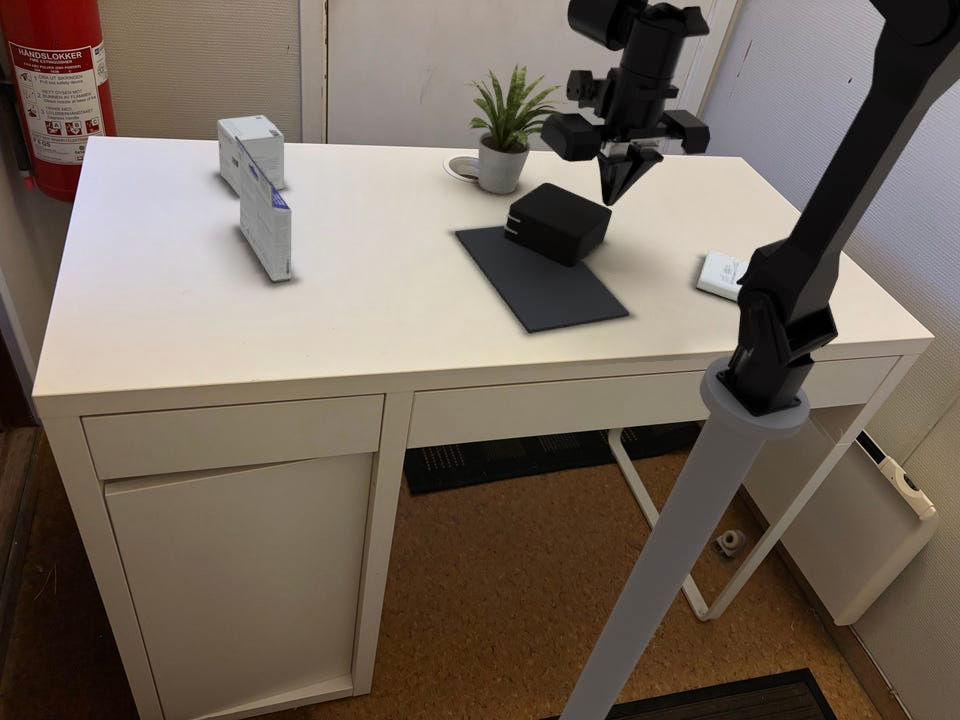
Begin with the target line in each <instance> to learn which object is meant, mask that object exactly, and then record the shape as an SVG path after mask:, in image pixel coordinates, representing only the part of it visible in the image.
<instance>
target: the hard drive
mask: <svg viewBox="0 0 960 720" xmlns="http://www.w3.org/2000/svg"><path fill="white" fill-rule="evenodd" d="M748 265H749V262H748V261H746V260H745V261H744V260H741V259H738V258H735V257H732V256H729V255H726V254H724V253H723V254H722V253H720V252H718V251H713V250H710V249H708V252H707V254H706V256H705V259H704V262H703V265H702V268H701V270H700V275H699V277H698V280H697V283H696V288H698V289H699V290H700V289H701V290H703V291H706V292H707V293H711V294H715V295H717V296H721V297H724V298H726V299H728V300H731V301H735V302H737V296H738V293H739V290H740V288H741V287H742V285H737V284H736V281H738V280H739V279H740V278H741V277H742V276H743V275H744V274H745V272H746V271H747V268H748Z"/></svg>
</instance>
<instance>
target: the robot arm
mask: <svg viewBox="0 0 960 720" xmlns="http://www.w3.org/2000/svg"><path fill="white" fill-rule="evenodd" d="M868 1H869V2H870V3H871V5H872V6H873V7H874V8H875V10H876V11H877V12H878V13H879V15H880V16H881V17H883V19H884V22H883V25H882V28H881V31H880V34H879V37H878V40H877V42H876V46H875V48H874V53H873V64H872V75H871V83H870V84H871V85H870V87H869V91H868V93H867V95H866V97H865V98H864V100H863V102H862V104H861V106H860V107H859V109H858V111H857V112H856V114H855V116H854V118H853V120H852V121H851V123H850V125H849V127H848V129H847V131H846V132H845V134H844V136H843V138H842V140H841V141H840V143H839V145H838V147H837V149H836V150H835V152H834V154H833V156H832V158H831V160H830V162H829V163H828V165H827V167H826V169H825V171H824V172H823V174H822V176H821V178H820V179H819V181H818V183H817V185H816V187H815V188H814V190H813V192H812V194H811V196H810V197H809V200H808V201H807V202H806V205H805V206H804V208H803V211H802V212H801V214H800V215H799V217H798V219H797V221H796V222H795V225H794V226H793V228H792V230H791V232H790V233H789V235H788V236H787V237H784V238H781V239H778V240H776V241H773V242H771V243H768V244H765V245H762V246H759V247H756V248H755V250H754V252H753V253H752V255H751V256H750V260H749V262H748V263H749V265H748V268H747V271H746V272H745V274H744V275H743V276H742V277H741V278H740V279H739V280H738V281H736V284H737V285H742V287H741V288H740V290H739V293H738V296H737V301H736V306H737V307H738V308H739V322H738V336H737V345H736V347H735V349H734V351H733V353H732V355H731V356H732V357H731V359H730V361H729V363H728V367H729V369H727V370H722V371H718V372H717V374H716V378H717V379H718V380H719V381H720V382H721V383H722V384H723V385H724V387H725V388H726V389H727V390H728V391H729V392H730V393H731V394H732V395H733V396H734V397H735V398H736V399H737V400H738V401H739V402H740V403H741V404H742V406H743V407H744V408H745V409H746V410H747V411H748V412H749V413H750V414H751V415H752V416H754V417H760V416H764V415H768V414H771V413H775V412H779V411H783V410H787V409H790V408H794V407H798V406H800V404H801V402H802V401H801V400H800V399H799V398H798V397H797V396H796V394H797V393H798V391H799V389H800V387H801V388H802V385H803V384H804V382H805V381H806V379H807V377H808V376H809V373H810V372H811V370H812V369H813V367H814V365H815V364H816V361H815V360H814V359H813V358H812V357H811V353H812V352H814V351H817V350H819V349H820V348H824V347H826V346H827V345H829V344H830V343H831V342H832V341H834V340H835V339H836V338H838V336H839V330H838V328H837V325H836V321H835V318H834V315H833V312H832V309H831V305H830V299H831V297H832V294H833V292H834V289H835V287H836V284H837V282H838V280H839V275H840V260H841V257H840V256H841V253H842V251H843V249H844V247H845V245H846V244H847V242H848V241H849V239H850V237H851V236H852V234H853V233H854V231H855V229H856V228H857V226H858V225H859V223H860V221H861V220H862V218H863V216H864V215H865V214H866V212H867V210H868V208H869V206H871V203H872V202H873V200H874V198H875V197H876V196H877V194H878V192H879V191H880V189H881V187H882V186H883V185H884V183H885V181H886V179H887V177H888V176H889V174H890V173H891V172H892V170H893V168H894V166H895V165H896V163H897V161H898V160H899V159H900V157H901V155H902V153H903V152H904V151H905V148H906V147H907V146H908V144H909V142H910V141H911V139H912V137H913V136H914V134H915V133H916V131H917V130H918V128H919V126H920V125H921V123H922V121H923V120H924V118H925V117H926V115H927V113H928V112H929V110H930V109H931V107H932V106H933V105H934V103H936V102H937V101H938V100H939V98H941V97H942V96H943V95H944V94H945V93H946V92H947V91H948V90H950V89H951V87H953V86H954V85H955V84H956V83H957V82H958V81H959V80H960V0H868ZM566 14H567V24H568V26H569V27H570V29H571V30H572V31H573V32H574V33H576V34H578V35H580V36H582V37H584V38H585V39H587V40H590V41H591V42H594V43H595V44H597V45H599V46H600V47H603V48H605V49H607V50H608V51H611V52H619V51H621V50H623V51H622V54H621V58H620V61H619V65H618V67H616V66H615V67H612V66H611V67H610V68H609V70H608V71H607V74H606V77H605V78H604V77H602V78H601V77H599V78H597V77H596V78H595V77H594V76H593V75H594V74H593V71H592V70H591V69H570V72H569V75H568V79H567V82H566V91H565V96H566V99H567V100H568V101H571V102H577V108H578V109H586V108H588V109H593V113H592V114H593V115H594V116H595V117H596V118H597V119H603V120H604V121H603V124H592V123H591V122H590V121H589V120H587V119H586V118H585V117H584V116H583V115H582V114H581V113H579V112H573V113H571V112H570V113H568V112H567V113H564V114H549V115H548V116H547V117H546V118H545V119H544V120H543V121H544V122H543V124H542V126H541V127H542V131H541V133H540V136H539V138H540V139H541V140H542V141H543V142H544V143H545V144H546V145H547V146H548V147H549V148H550V149H551V150H552V151H553V152H554V153H555V154H556V155H557V156H558V157H560V158H561V160H563V161H565V162H568V163H576V162H591V161H593V160H594V159H595V158H596V159H597V163H598V168H599V179H600V190H601V191H600V192H601V201H602V203H603V205H604V206H605V207H612V206H614V205H615V204H616V203H617V202H618V201H619V200H620V199H621V198H622V197H623V196H624V195H625V194H626V193H627V192H628V191H629V190H630V189H631V188H632V187H633V185H635V184H636V183H637V182H638V181H639V180H640V179H641V178H642V177H643V176H644V175H645V174H647V173H648V171H650V170H651V169H652V168H653V167H654V166H656V164H659V163H660V164H661V163H662V162H663V161H664V159H665V156H664V155H663V154H661V153H660V152H659V151H658V150H659V148H660V145H659V144H660V142H661V141H662V142H663V141H678V140H681V144H680V148H681V149H682V151H683V153H684V154H686V155H699V154H701V155H702V154H706V152H707V149H708V147H709V144H710V141H711V139H712V136H711V131H710V126H709V125H707V124H706V123H705V122H703V121H702V120H701V119H699V118H698V117H697V116H695V115H694V114H693V113H691V112H690V111H688V110H687V109H665V108H666V104H667V102H668V100H671V99H672V100H673V99H677V98H678V95H679V91H680V88H679V87H678V86H677V85H675V84H673V83H674V80H675V77H676V74H677V70H678V69H679V68H678V67H679V65H680V61H681V58H682V56H683V52H684V49H685V46H686V42H687V40H688V39H689V38H697V37H706V36H708V35H710V33H711V29H710V27H709V24H708V22H707V20H706V19H705V18H704V16H703V13H702V8H701V6H700V5H694V6H693V5H691V6H684V7H683V8H680V7H678V6H676V5H673V4H672V3H669V2H666V1H665V2H664V1H661V2H658V3H656V4H653V5H652V4H650V3H649V0H569V2H568V6H567V12H566Z"/></svg>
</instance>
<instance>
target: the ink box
mask: <svg viewBox="0 0 960 720" xmlns="http://www.w3.org/2000/svg"><path fill="white" fill-rule="evenodd" d="M235 139H236V144H237V151H238V158H239V166H240V196H239V229H240V231H241V232H242V234H243V235H244V237H245V239H246V240H247V242H248V244H249V246H250V247H251V248H252V250H253V252H254V253H255V255H256V256H257V258H258V260H259V261H260V263H261V265H262V267H263V268H264V269H265V271H266V273H267V274H268V276H269V278H270V279H271V281H272V282H281V281H282V282H283V281H287V280H291V279H292V209H291V207H289V205H288V204H287V202H286V201H285V200H284V198H283V197H282V196H281V194H280V193H279V191H278V190H276V189H275V187H274V183H272V182H271V181H270V180H269V179H268V177H267V176H266V175H265V173H264V172H263V171H262V169H261V168H260V166H259V165H258V163H257V162H256V161H254V159H253V158H252V156H251V155H250V153H249V152H248V151H247V149H246V148H245V146H244V145H243V144H242V142H241V141H240V140H239V138H238V137H237V136H235Z"/></svg>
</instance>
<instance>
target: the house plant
mask: <svg viewBox="0 0 960 720" xmlns="http://www.w3.org/2000/svg"><path fill="white" fill-rule="evenodd" d="M518 64H519V63H516V65H515V67H514V70H513V72H512V75H511V79H510V84H509V89H508V94H507V97H506V105H505V104H504V97H503V90H502V88H501V85H500V82H499V80H498V78H497V77H496V76H495V74H494V73H493V72H492V70H490V69H488V72H489V75H488V74H485V76H486V77H488V78H490V79H491V82H492V87H493V91H494V94H495V101H496V105H495V101H494V98H493V96H492V94H491V92H490V90H489V89H488V87H487V85H486V83H485V82H484V80H482V79H480V78H479V77H477V79H478V80H479V82H481V83H482V84H483V86H484V88H485V89H486V90H484V89H483V88H482V87H481V85H479V83H477V82H475V80H473V79H471V81H472V82H473V84H470V83H466V84H465V83H464V84H463V83H461V86H462V85H463V86H471V87H476V88H477V89H478V91H479V92H480V94H481V95H482V96H483V98H479V97H478V98H477V97H476V98H473V103H475V104H476V105H477V106H478V107H479V108H480V109H481V110H482V111H483V112H484V113H485V114H486V116H487V118H488V119H489V121H490V124H491V125H490V124H488V123H487V122H486V121H485V120H484V119H483V118H480V117H477V116H475V117H473V118H472V119H471V121H470V123H469V125H468V127H470V126H471V127H470V128H469V130H468V131H470V130H473V129H481V128H482V129H484V128H485V129H488V130H489V131H486V132H483V133H481V134H480V135H479V136H478V185H479V186H480V188H482V189H483V190H485V191H487V192H489V193H493V194H498V195H499V194H500V195H506V194H510V193H513V192H514V191H515V189H516V188H517V184H518V182H519V180H520V177H521V175H522V171H523V169H524V166H525V163H526V161H527V159H528V157H529V153H530V151H531V144H530V142H529V137H528V136H529V135H532V134H533V133H534V134H535V133H536V134H541V131H542V126H537V127H532V126H535V125H543V122H544V121H545V120H543V119H542V120H540V119H539V120H534V121H532V120H533V119H534V118H536V117H539V116H541V115H542V116H543V115H551V114H565V113H564V112H561V111H558V110H556V109H557V108H555V107H554V106H552V105H547V104H562V105H568V103H567V102H563V101H557V100H546V101H543V100H544V99H545V98H546V97H547V96H548V95H549V94H550V93H551V92H553V91H556V90H557V89H559V88H561V87H562V85H554V86H551V87H548V88H546V89H544V90H543V91H541V92H540V93H539V94H537V95H536V96H534V97H533V98H532V99H530V100H529V101H528V102H525V100H526V99H527V97H528V96H529V95H530V94H531V92H532V91H533V90H534V88H535V87H536V86H537V85H538V84H539V83H540V82H541V81H542V80H543V78H544V77H545V76H546V74H543V75H542V76H540V77H539V78H537V79H536V80H534V81H533V82H532V83H531V84H530V85H528V86H527V87H526V74H527V65H526V66H523V67H522V68H521V69H520V70H519V65H518ZM518 70H519V72H518ZM525 87H526V88H525ZM541 101H542V102H541ZM524 102H525V103H524ZM544 104H545V105H544ZM523 105H525V106H524V107H523V109H521V112H519V111H520V108H521V107H522V106H523ZM540 105H541V106H540ZM536 106H538V107H537V108H535V109H533V108H534V107H536ZM545 108H550V109H545ZM518 112H519V113H518ZM530 121H531V122H530ZM530 127H531V128H530Z"/></svg>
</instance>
